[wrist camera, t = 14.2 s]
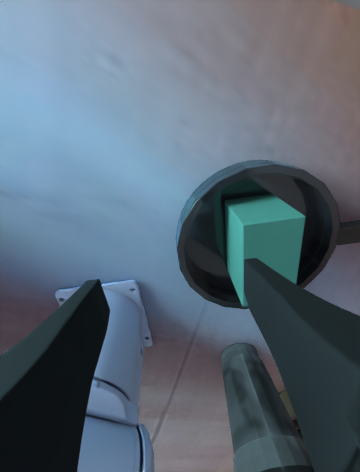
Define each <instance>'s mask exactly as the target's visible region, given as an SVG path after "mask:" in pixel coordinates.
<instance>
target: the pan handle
mask: <svg viewBox="0 0 360 472" xmlns="http://www.w3.org/2000/svg"><path fill="white" fill-rule="evenodd" d="M358 242H360V220H358V221H350V222H343V223H340V229H339V231H338V237H337V242H336V245H343V244H350V243H358Z"/></svg>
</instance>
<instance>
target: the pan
mask: <svg viewBox="0 0 360 472" xmlns="http://www.w3.org/2000/svg"><path fill="white" fill-rule="evenodd" d="M266 194H274V195H275V196H277V197H278V198H279V199H281V200H282V201H284V202H285V203H287V204H288V205H290V206H291V207H293V208H294V209H295V210H297V211H298V212H300V213H301V214H303V215H304V216H305V225H304V232H303V239H302V246H301V254H300V261H299V268H298V275H297V282H296V285H298V286H299V287H301V288H304V287H306V286H307V285H308V284H309V283H310V282H311V281H312V280H313V279H314V278H315V277H316V276H317V275H318V274H319V273H320V272H321V271H322V270H323V268H324V267H325V266H326V264H327V262H328V260H329V259H330V257H331V255H332V253H333V252H334V250H335V248H336V242H337V237H338V231H339V229H340V220H339V213H338V207H337V203H336V201H335V199H334V198H333V196H332V195H331V193H330V191H329V190H328V188H327V187H326V185H325V184H324V183H323V182H322V181H320V180H319V179H317V178H316V177H314V176H313V175H311V174H309V173H308V172H306V171H305V170H303V169H300V168H297V167H295V166H292V165H288V164H283V163H280V162H275V161H269V160H253V161H246V162H241V163H237V164H234V165H232V166H229V167H226V168H224V169H222V170H220V171H218V172H217V173H215V174H214V175H212V176H211V177H209V178H208V179H207V180H206V181H204V182H203V183H202V184H201V185H200V186H199V187H198V188H197V189H196V190H195V191H194V192H193V194H192V195H191V196H190V198H189V199H188V201H187V202H186V204H185V206H184V208H183V210H182V212H181V215H180V218H179V222H178V226H177V234H176V244H177V253H178V259H179V266H180V270H181V272H182V274H183V275H184V277H185V279H186V281H187V282H188V284H189V286H190V287H191V288H192V289H193V290H195V291H196V292H197V293H198V294H199V295H201V296H202V297H203V298H204V299H206V300H208V301H211V302H213V303H216V304H218V305H221V306H223V307H231V308H240V309H249V306H247V307H243V306H242V304H241V301H240V299H239V297H238V294H237V292H236V289H235V287H234V285H233V282H232V280H231V277H230V275H229V273H228V270H227V254H226V227H225V200H231V199H238V198H245V197H252V196H259V195H266Z"/></svg>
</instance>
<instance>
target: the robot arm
mask: <svg viewBox="0 0 360 472" xmlns="http://www.w3.org/2000/svg"><path fill="white" fill-rule="evenodd" d="M131 288H135V289H131ZM244 294H245V297H246V300H247V303H248V306H249V309H250V311H251V313H252V315H253V317H254V319H255V321H256V323H257V325H258V327H259V329H260V331H261V333H262V335H263V337H264V339H265V341H266V343H267V345H268V347H269V349H270V351H271V353H272V355H273V358H274V360H275V362H276V365H277V367H278V370H279V372H280V375H281V378H282V380H283V383H284V385H285V388H286V391H287V394H288V396H289V399H290V402H291V404H292V407H293V410H294V413H295V416H296V418H297V421H298V424H299V427H300V430H301V433H302V436H303V438H304V442H305V445H306V448H307V451H308V454H309V457H310V460H311V463H312V466H313V469H314V472H360V316H358V315H356V314H354V313H351V312H349V311H347V310H344V309H342V308H340V307H338V306H335V305H333V304H331V303H329V302H327V301H325V300H323V299H321V298H319V297H317V296H315V295H313V294H312V293H310V292H308V291H306V290H305V289H303V288H301V287H299V286H298V285H296V284H295V283H293V282H291V281H290V280H288V279H287V278H285V277H284V276H282V275H281V274H279V273H278V272H276V271H275V270H273V269H272V268H270V267H269V266H267V265H266V264H265V263H263V262H262V261H260V260H259V259H257V258H251V259H244ZM55 297H56V299H57V301H58V303H59V305H60V307H59V308H58V309H57V310H56V311H55V312H54V313H53V314H52V315H50V316H49V317H48V318H47V319H46V320H45V321H44V322H43V323H42V324H40V325H39V326H38V327H37V328H36V329H35V330H33V331H32V332H31V333H30V334H29V335H27V336H26V337H25V338H24V339H22V340H21V341H20V342H18V343H17V344H16V345H15V346H13V347H12V348H11V349H9V350H8V351H6V352H5V353H4V354H2V355H1V356H0V472H154V453H153V447H152V444H151V439H150V436H149V433H148V430H147V428H146V427H145V426H144V425H143V424H141V423H138V412H139V405H138V403H139V398H140V388H141V376H142V365H143V354H144V348H145V347H151V346H152V345H153V340H152V336H151V332H150V329H149V325H148V321H147V317H146V314H145V310H144V306H143V302H142V299H141V295H140V291H139V287H138V284H137V282H136V281H135V280H125V281H118V282H111V283H104V284H101V282H100V279H96V280H89V281H86V282H85V283H84V284H83V285H82V286H81V287H75V288H68V289H60V290H58V291H57V292H56V293H55ZM62 298H64V299H62Z"/></svg>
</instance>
